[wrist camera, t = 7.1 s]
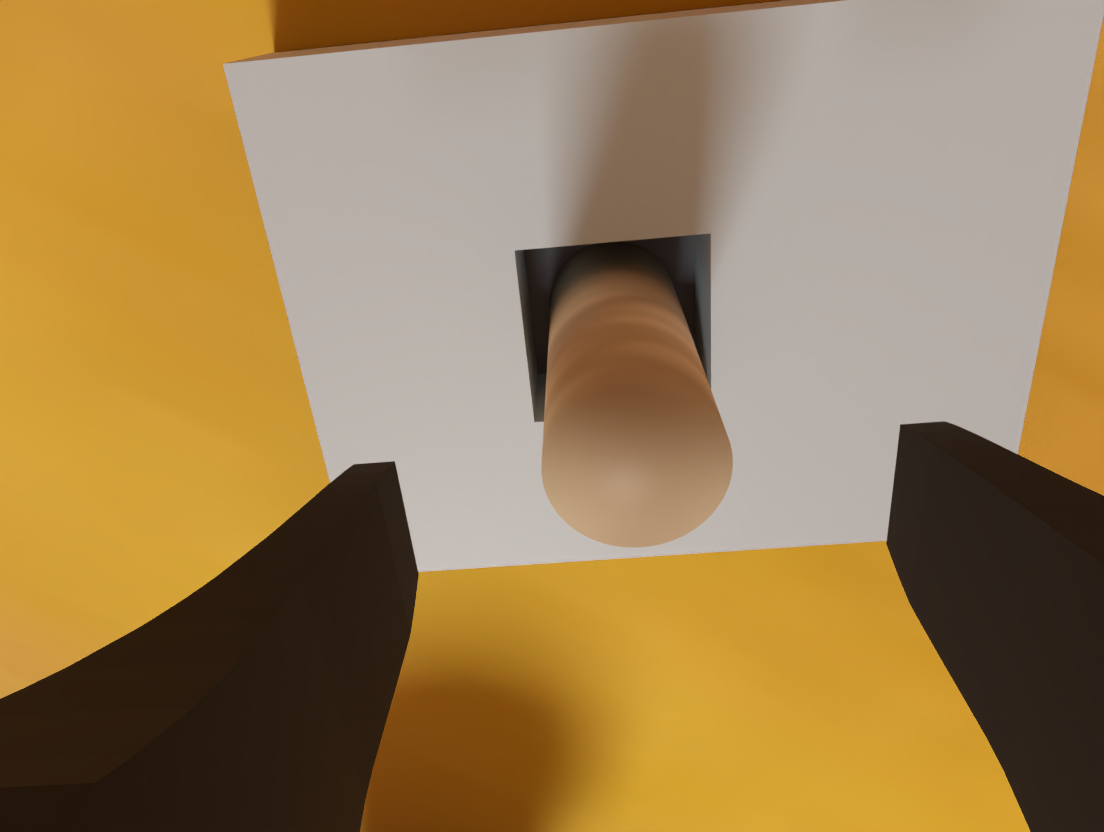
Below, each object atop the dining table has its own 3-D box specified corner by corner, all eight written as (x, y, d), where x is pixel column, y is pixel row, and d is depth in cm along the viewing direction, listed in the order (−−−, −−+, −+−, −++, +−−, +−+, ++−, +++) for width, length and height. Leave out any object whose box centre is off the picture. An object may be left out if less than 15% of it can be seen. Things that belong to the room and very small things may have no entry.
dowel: (666, 230, 19) (723, 367, 12) (681, 346, 21) (741, 532, 13) (539, 252, 19) (523, 400, 12) (563, 366, 21) (560, 559, 14)
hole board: (1026, -25, 17) (1111, -27, 14) (950, 468, 23) (1002, 532, 20) (273, 52, 18) (222, 64, 15) (377, 509, 23) (354, 576, 21)
